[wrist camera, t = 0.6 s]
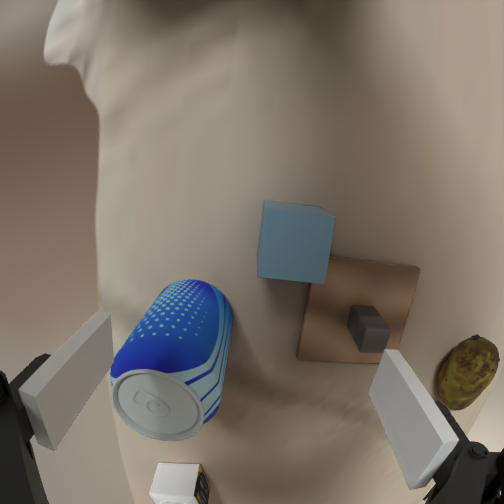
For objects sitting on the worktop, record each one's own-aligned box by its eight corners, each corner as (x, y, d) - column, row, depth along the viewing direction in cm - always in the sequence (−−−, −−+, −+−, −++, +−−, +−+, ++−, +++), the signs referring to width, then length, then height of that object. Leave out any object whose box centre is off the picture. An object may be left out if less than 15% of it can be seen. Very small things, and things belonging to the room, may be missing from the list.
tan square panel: (315, 254, 33) (328, 274, 26) (416, 266, 33) (444, 286, 26) (296, 355, 36) (302, 389, 29) (389, 358, 36) (408, 389, 29)
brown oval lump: (415, 401, 38) (436, 438, 30) (444, 322, 34) (477, 353, 27) (458, 395, 38) (481, 427, 30) (488, 321, 35) (521, 347, 27)
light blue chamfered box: (263, 200, 31) (265, 208, 25) (320, 207, 31) (335, 217, 25) (257, 255, 33) (257, 276, 26) (311, 261, 33) (324, 284, 26)
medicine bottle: (210, 486, 43) (203, 542, 31) (170, 484, 43) (157, 538, 32) (200, 463, 41) (189, 524, 30) (157, 461, 42) (140, 519, 30)
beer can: (222, 267, 33) (193, 350, 18) (242, 337, 35) (233, 445, 20) (148, 283, 34) (78, 364, 18) (172, 349, 36) (130, 449, 20)
